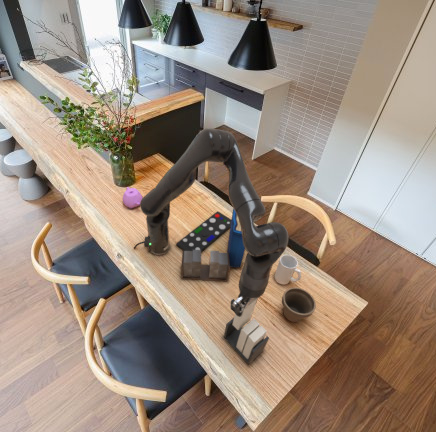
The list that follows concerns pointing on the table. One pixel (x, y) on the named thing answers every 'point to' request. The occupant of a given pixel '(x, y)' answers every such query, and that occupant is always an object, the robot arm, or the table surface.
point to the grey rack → (205, 266)
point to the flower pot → (297, 304)
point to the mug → (287, 270)
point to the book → (235, 242)
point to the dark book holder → (246, 339)
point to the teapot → (132, 197)
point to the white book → (244, 315)
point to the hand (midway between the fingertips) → (245, 308)
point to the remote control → (205, 233)
